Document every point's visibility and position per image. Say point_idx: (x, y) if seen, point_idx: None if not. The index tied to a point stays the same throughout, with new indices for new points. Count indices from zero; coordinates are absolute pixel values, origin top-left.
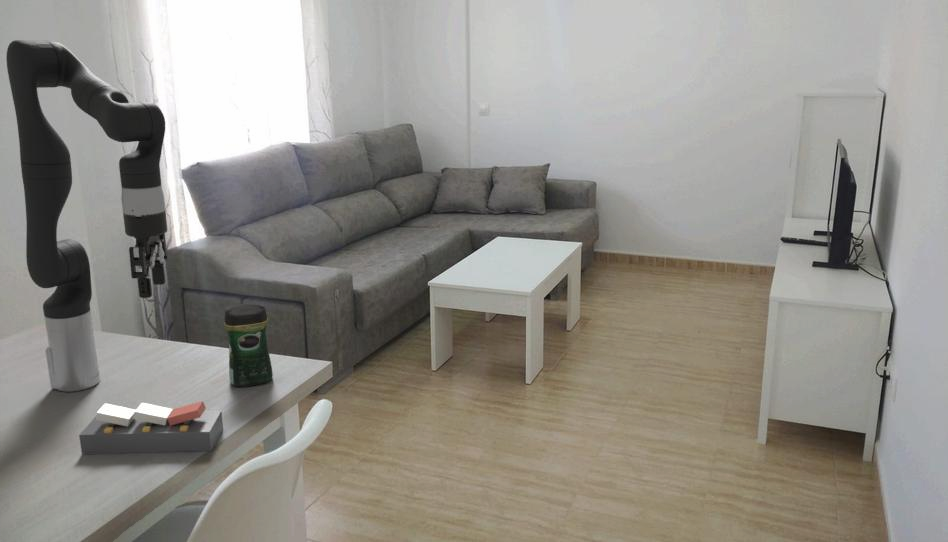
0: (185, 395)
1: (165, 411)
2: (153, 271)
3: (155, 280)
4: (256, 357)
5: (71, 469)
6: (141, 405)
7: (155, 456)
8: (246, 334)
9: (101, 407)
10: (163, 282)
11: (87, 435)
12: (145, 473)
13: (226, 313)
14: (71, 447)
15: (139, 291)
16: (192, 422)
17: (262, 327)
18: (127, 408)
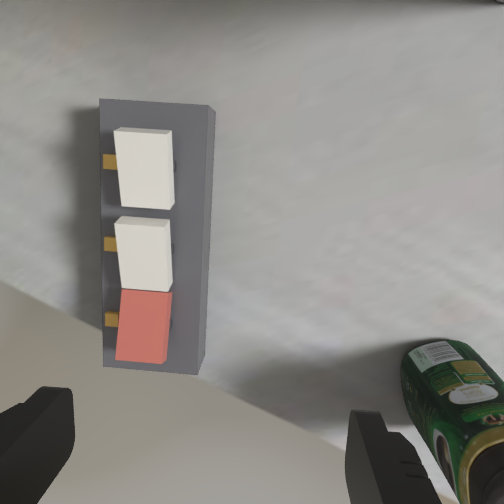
0: (382, 252)
1: (149, 280)
2: (374, 490)
3: (354, 439)
4: (428, 444)
5: (59, 106)
6: (149, 229)
7: None
8: (454, 478)
9: (141, 133)
10: (347, 475)
11: (100, 117)
12: (43, 251)
13: None
14: (149, 70)
15: (20, 410)
16: None
17: None
18: (166, 189)
